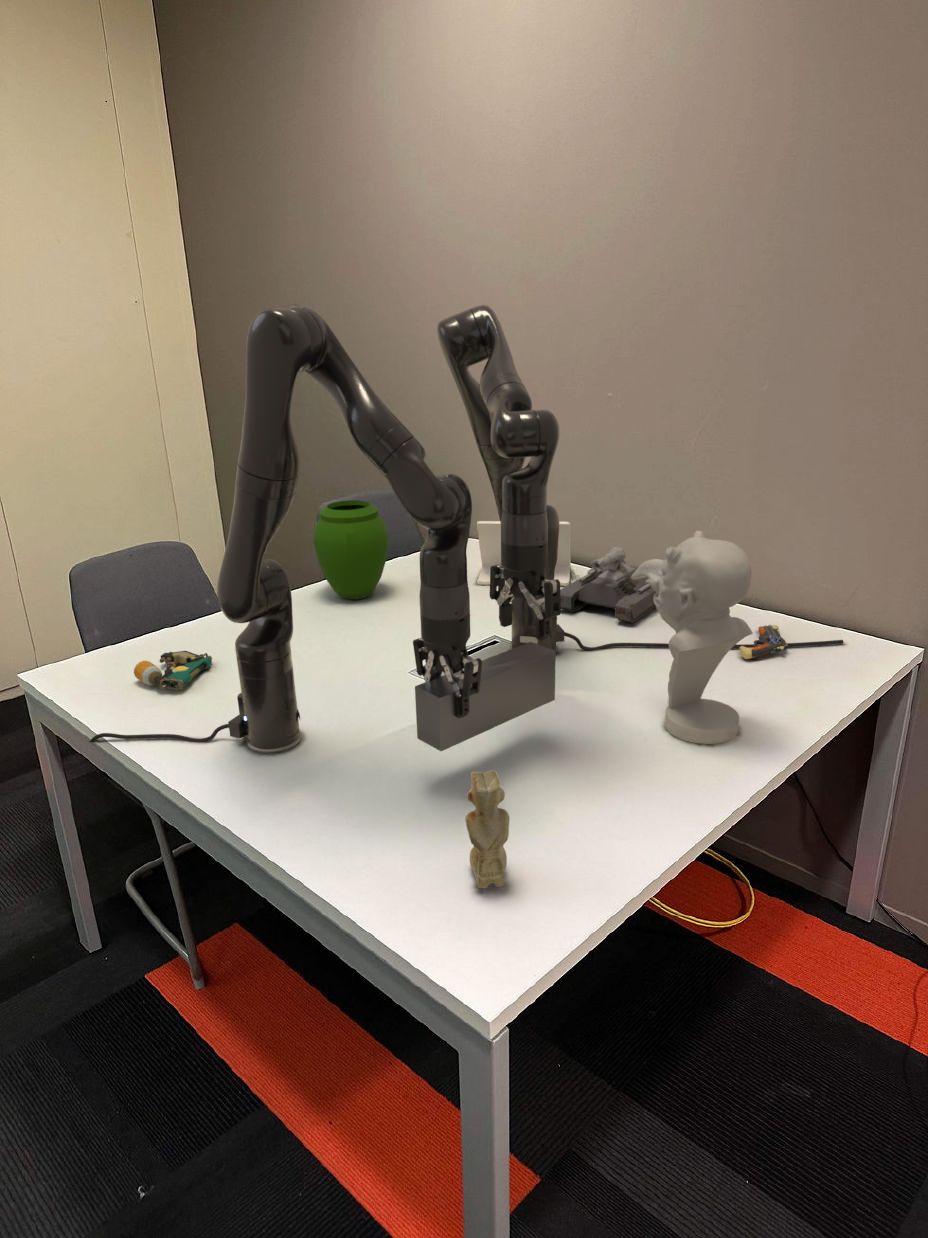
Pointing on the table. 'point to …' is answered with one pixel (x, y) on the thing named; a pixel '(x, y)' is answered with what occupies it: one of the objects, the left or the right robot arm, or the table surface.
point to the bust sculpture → (699, 629)
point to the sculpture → (487, 829)
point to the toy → (611, 588)
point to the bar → (487, 696)
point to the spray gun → (172, 669)
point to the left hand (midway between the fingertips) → (448, 709)
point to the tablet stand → (492, 551)
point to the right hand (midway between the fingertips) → (524, 632)
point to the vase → (351, 547)
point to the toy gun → (764, 642)
